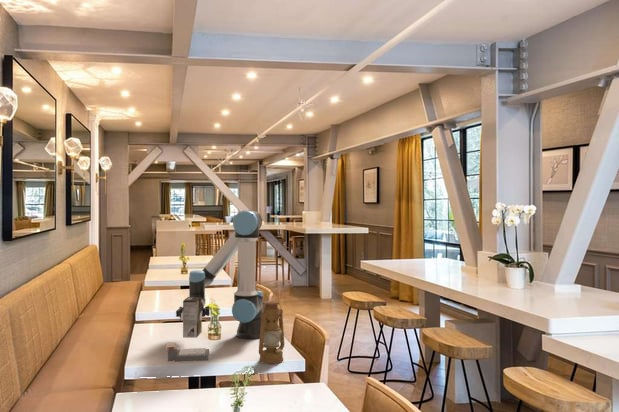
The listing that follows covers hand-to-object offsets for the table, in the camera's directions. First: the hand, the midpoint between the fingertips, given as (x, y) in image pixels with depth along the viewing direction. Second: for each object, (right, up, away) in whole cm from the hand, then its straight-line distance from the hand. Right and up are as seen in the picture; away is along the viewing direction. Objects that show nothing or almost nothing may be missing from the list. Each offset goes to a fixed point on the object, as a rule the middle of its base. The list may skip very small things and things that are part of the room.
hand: (191, 317), depth 217 cm
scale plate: (-1, -17, +5) cm, 17 cm away
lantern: (+34, -19, +1) cm, 39 cm away
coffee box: (-1, -9, +5) cm, 10 cm away
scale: (-3, -19, +5) cm, 20 cm away
